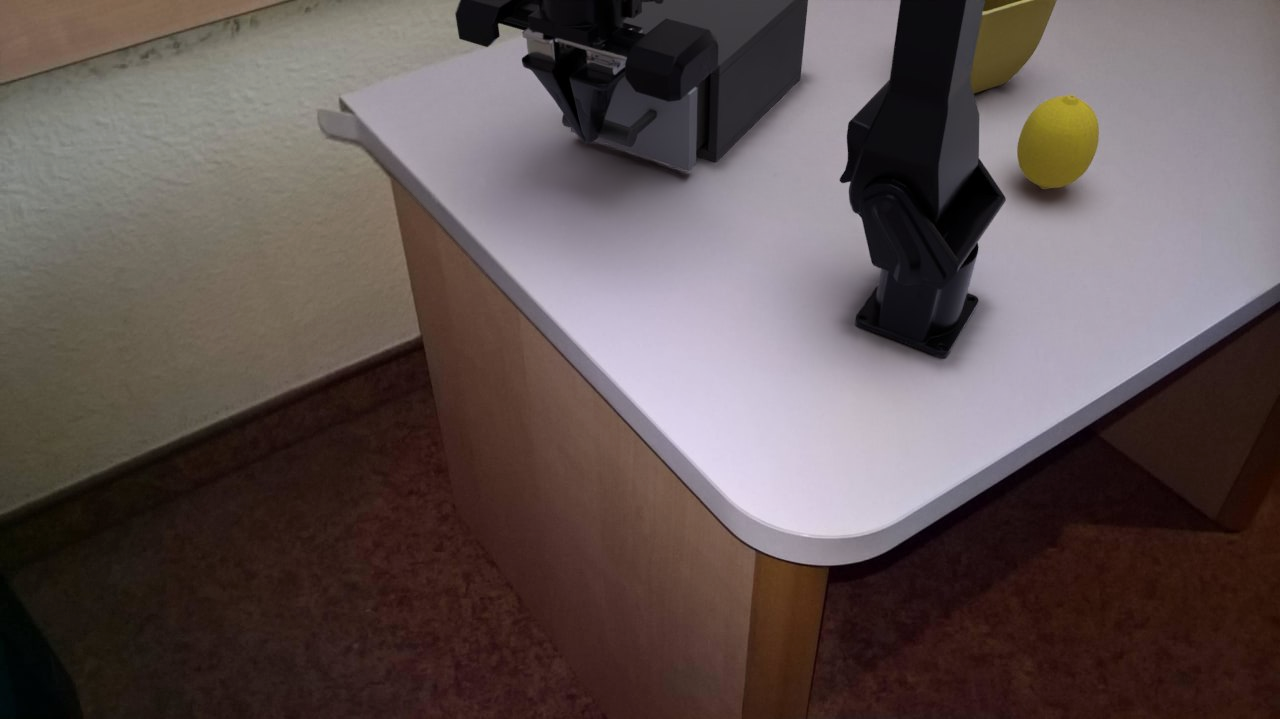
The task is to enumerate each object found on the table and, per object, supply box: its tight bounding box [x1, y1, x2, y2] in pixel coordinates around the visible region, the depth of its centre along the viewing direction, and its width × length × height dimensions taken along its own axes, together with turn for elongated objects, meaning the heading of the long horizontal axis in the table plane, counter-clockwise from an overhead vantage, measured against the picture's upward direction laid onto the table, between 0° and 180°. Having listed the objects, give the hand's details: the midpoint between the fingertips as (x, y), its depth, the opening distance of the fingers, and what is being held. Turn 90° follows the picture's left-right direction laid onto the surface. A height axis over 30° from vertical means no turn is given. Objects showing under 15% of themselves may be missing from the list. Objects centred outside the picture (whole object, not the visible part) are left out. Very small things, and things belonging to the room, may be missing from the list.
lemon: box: [1016, 94, 1100, 190], centre depth 77 cm, size 6×6×8 cm
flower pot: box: [971, 0, 1058, 95], centre depth 89 cm, size 9×9×9 cm
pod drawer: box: [561, 73, 711, 172], centre depth 84 cm, size 19×11×7 cm, turn 148°
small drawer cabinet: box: [624, 0, 809, 163], centre depth 88 cm, size 16×13×9 cm
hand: (590, 140), depth 77 cm, fingers closed, pressing on pod drawer
